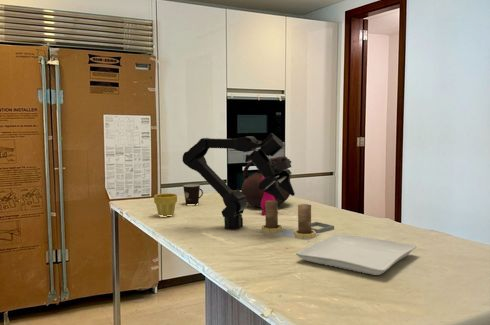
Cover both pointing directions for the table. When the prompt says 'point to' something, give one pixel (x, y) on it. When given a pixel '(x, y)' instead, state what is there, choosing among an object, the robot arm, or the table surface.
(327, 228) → the gray square tray
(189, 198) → the coffee mug
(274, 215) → the cylinder
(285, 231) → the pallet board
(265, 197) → the pink bowling pin
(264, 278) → the table surface
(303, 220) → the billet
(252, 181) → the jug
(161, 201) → the plant pot
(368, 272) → the square plate
